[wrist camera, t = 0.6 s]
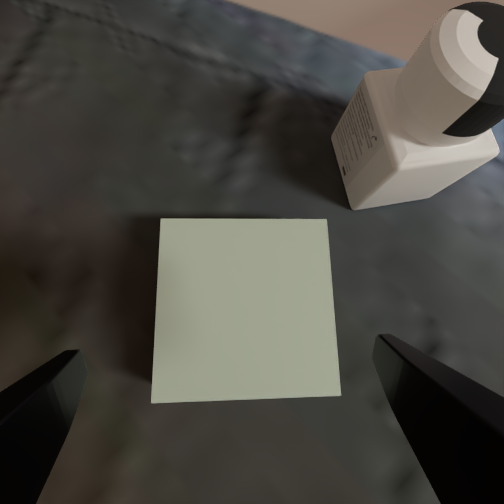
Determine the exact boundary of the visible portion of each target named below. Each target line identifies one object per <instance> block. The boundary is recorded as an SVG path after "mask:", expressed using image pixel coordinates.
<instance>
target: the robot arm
mask: <svg viewBox="0 0 504 504" xmlns="http://www.w3.org/2000/svg"><path fill="white" fill-rule="evenodd" d="M372 361H373V364H374V367H375V369H376V372H377V374H378V377H379V379H380V382H381V384H382V387H383V389H384V392H385V394H386V397H387V399H388V402H389V404H390V406H391V409H392V411H393V413H394V415H395V417H396V419H397V421H398V422H399V424H400V426H401V428H402V430H403V432H404V434H405V436H406V438H407V440H408V442H409V444H410V446H411V447H412V449H413V451H414V453H415V455H416V457H417V459H418V461H419V463H420V465H421V467H422V469H423V470H424V472H425V474H426V476H427V478H428V480H429V482H430V484H431V486H432V488H433V490H434V492H435V494H436V495H437V497H438V499H439V501H440V503H441V504H504V397H502V396H500V395H499V394H497V393H495V392H493V391H491V390H490V389H488V388H486V387H484V386H483V385H481V384H479V383H477V382H475V381H474V380H472V379H470V378H468V377H466V376H465V375H463V374H461V373H459V372H457V371H456V370H454V369H452V368H450V367H448V366H447V365H445V364H443V363H441V362H440V361H438V360H436V359H434V358H432V357H431V356H429V355H427V354H425V353H423V352H422V351H420V350H418V349H416V348H414V347H413V346H411V345H409V344H407V343H406V342H404V341H402V340H400V339H398V338H397V337H395V336H393V335H391V334H378V335H377V336H376V337H375V341H374V347H373V352H372ZM87 377H88V371H87V367H86V363H85V359H84V355H83V352H82V351H81V350H66V351H64V352H62V353H60V354H59V355H57V356H56V357H54V358H53V359H51V360H50V361H48V362H46V363H45V364H43V365H42V366H40V367H39V368H37V369H36V370H34V371H32V372H31V373H29V374H28V375H26V376H25V377H23V378H22V379H20V380H18V381H17V382H15V383H14V384H12V385H11V386H9V387H8V388H6V389H4V390H3V391H1V392H0V504H36V502H37V500H38V498H39V496H40V494H41V491H42V489H43V487H44V485H45V483H46V481H47V478H48V476H49V474H50V472H51V470H52V468H53V465H54V463H55V461H56V459H57V457H58V454H59V452H60V450H61V448H62V446H63V444H64V441H65V439H66V437H67V434H68V432H69V430H70V427H71V424H72V421H73V419H74V416H75V413H76V410H77V407H78V404H79V401H80V398H81V395H82V392H83V389H84V386H85V384H86V381H87Z"/></svg>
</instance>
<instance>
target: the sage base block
mask: <svg viewBox="0 0 504 504" xmlns="http://www.w3.org/2000/svg"><path fill="white" fill-rule="evenodd" d="M320 396H341V389H340V377H339V365H338V352H337V340H336V327H335V315H334V303H333V290H332V278H331V265H330V253H329V241H328V228H327V219H161V223H160V242H159V261H158V280H157V299H156V319H155V338H154V357H153V376H152V396H151V403H169V402H194V401H220V400H245V399H270V398H295V397H320Z"/></svg>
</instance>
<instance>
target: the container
mask: <svg viewBox="0 0 504 504" xmlns="http://www.w3.org/2000/svg"><path fill="white" fill-rule="evenodd" d="M502 119H504V6H502V5H499V4H495V3H489V2H471V3H466V4H463V5H460V6H458V7H455V8H453V9H450V10H449V11H447V12H445V13H444V14H443V15H442V16H440V18H439V19H438V20H437V21H436V22H435V24H434V25H433V27H432V28H431V30H430V31H429V33H428V34H427V36H426V37H425V38H424V40H423V41H422V43H421V45H420V46H419V47H418V49H417V50H416V52H415V53H414V54H413V56H412V58H411V59H410V60H409V62H408V63H407V65H406V66H405V67H404V68H395V69H386V70H377V71H369V72H367V73H366V74H365V75H364V77H363V79H362V80H361V82H360V84H359V86H358V88H357V90H356V91H355V93H354V95H353V97H352V99H351V101H350V103H349V104H348V106H347V108H346V110H345V112H344V114H343V115H342V117H341V119H340V121H339V123H338V125H337V126H336V128H335V130H334V132H333V134H332V136H331V140H332V143H333V147H334V150H335V154H336V158H337V161H338V165H339V168H340V172H341V175H342V179H343V182H344V186H345V190H346V193H347V197H348V200H349V204H350V207H351V209H352V210H360V209H366V208H372V207H378V206H384V205H390V204H396V203H402V202H408V201H414V200H420V199H426V198H429V197H431V196H433V195H434V194H436V193H437V192H439V191H441V190H442V189H444V188H446V187H447V186H449V185H450V184H452V183H454V182H455V181H457V180H459V179H460V178H462V177H463V176H465V175H467V174H468V173H470V172H471V171H473V170H475V169H476V168H478V167H480V166H481V165H483V164H484V163H486V162H488V161H489V160H491V159H493V158H494V157H496V156H497V155H498V154H499V147H498V145H497V142H496V140H495V137H494V135H493V133H492V130H491V128H492V127H493V126H494V125H496V124H497V123H498V122H500V121H501V120H502Z"/></svg>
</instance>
